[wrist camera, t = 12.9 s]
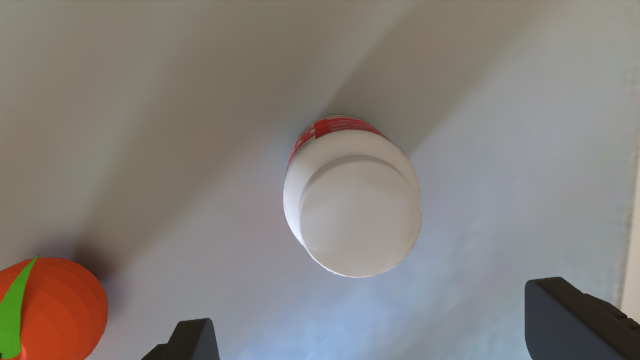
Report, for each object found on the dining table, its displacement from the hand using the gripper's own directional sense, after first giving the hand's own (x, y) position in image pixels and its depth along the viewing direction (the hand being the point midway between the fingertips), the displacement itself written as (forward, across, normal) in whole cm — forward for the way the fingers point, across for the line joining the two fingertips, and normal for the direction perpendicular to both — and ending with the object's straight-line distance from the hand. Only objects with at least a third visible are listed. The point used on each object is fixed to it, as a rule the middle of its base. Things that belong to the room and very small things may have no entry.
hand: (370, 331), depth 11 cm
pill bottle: (+17, -1, -1) cm, 17 cm away
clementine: (+17, +17, +5) cm, 25 cm away
